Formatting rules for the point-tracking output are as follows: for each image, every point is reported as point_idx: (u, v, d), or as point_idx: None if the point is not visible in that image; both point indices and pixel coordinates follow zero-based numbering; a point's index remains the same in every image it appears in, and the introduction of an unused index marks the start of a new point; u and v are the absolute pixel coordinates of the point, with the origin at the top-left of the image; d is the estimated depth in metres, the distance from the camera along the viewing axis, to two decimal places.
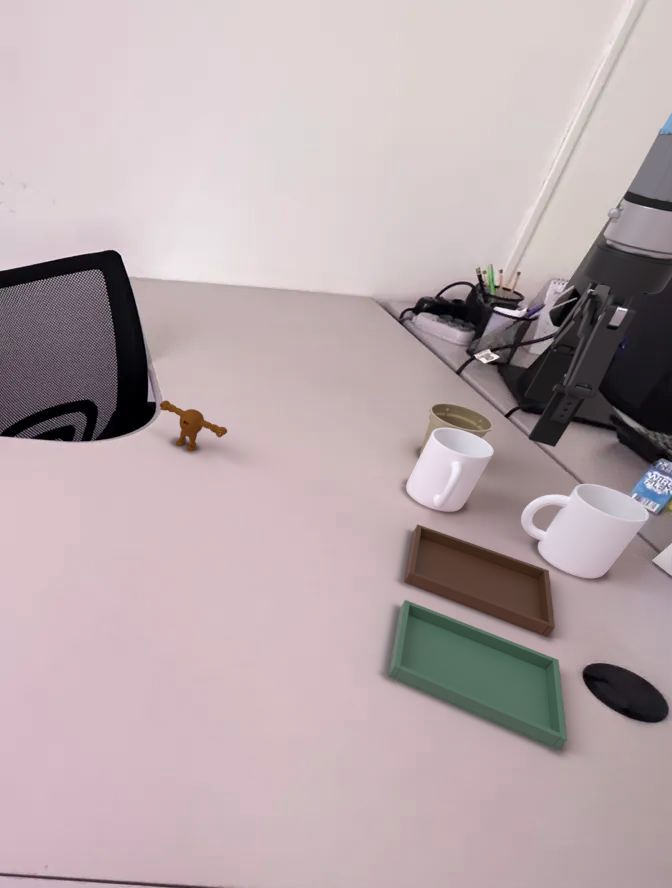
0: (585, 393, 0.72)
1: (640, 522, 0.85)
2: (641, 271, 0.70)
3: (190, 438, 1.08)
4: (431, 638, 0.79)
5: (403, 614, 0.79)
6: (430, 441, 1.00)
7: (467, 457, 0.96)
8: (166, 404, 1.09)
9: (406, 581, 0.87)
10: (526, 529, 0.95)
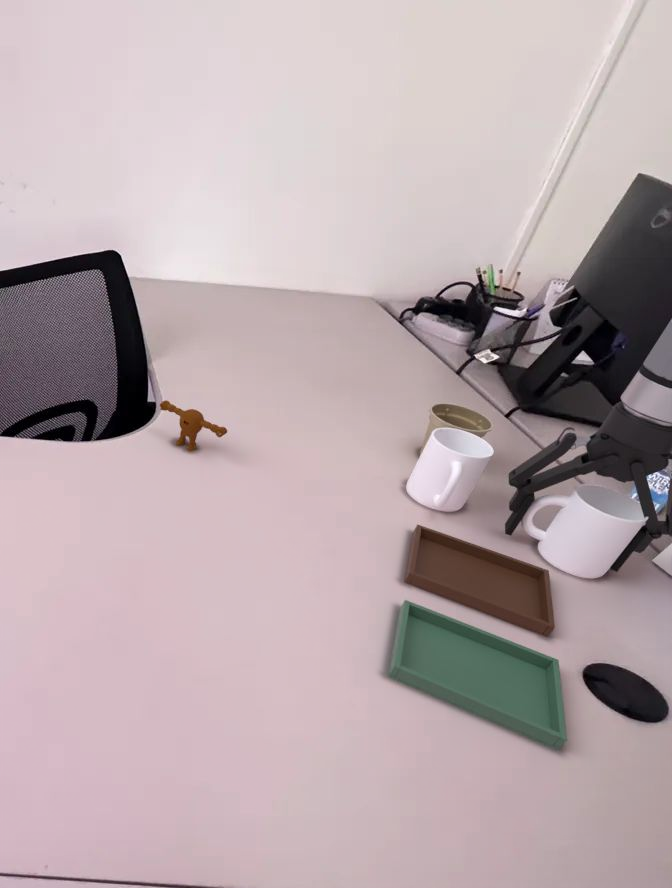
0: (509, 477, 0.93)
1: (640, 522, 0.85)
2: (611, 415, 0.84)
3: (190, 438, 1.08)
4: (431, 638, 0.79)
5: (403, 614, 0.79)
6: (430, 441, 1.00)
7: (467, 457, 0.96)
8: (166, 404, 1.09)
9: (406, 581, 0.87)
10: (526, 529, 0.95)
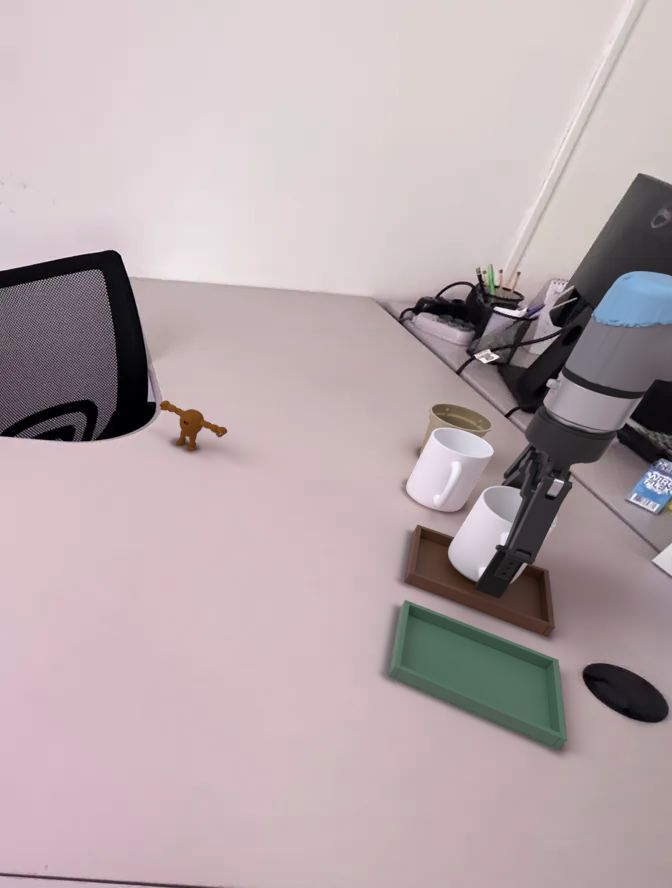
0: (524, 559, 0.74)
1: None
2: (578, 444, 0.72)
3: (190, 438, 1.08)
4: (431, 638, 0.79)
5: (403, 614, 0.79)
6: (430, 441, 1.00)
7: (467, 457, 0.96)
8: (166, 404, 1.09)
9: (406, 581, 0.87)
10: None
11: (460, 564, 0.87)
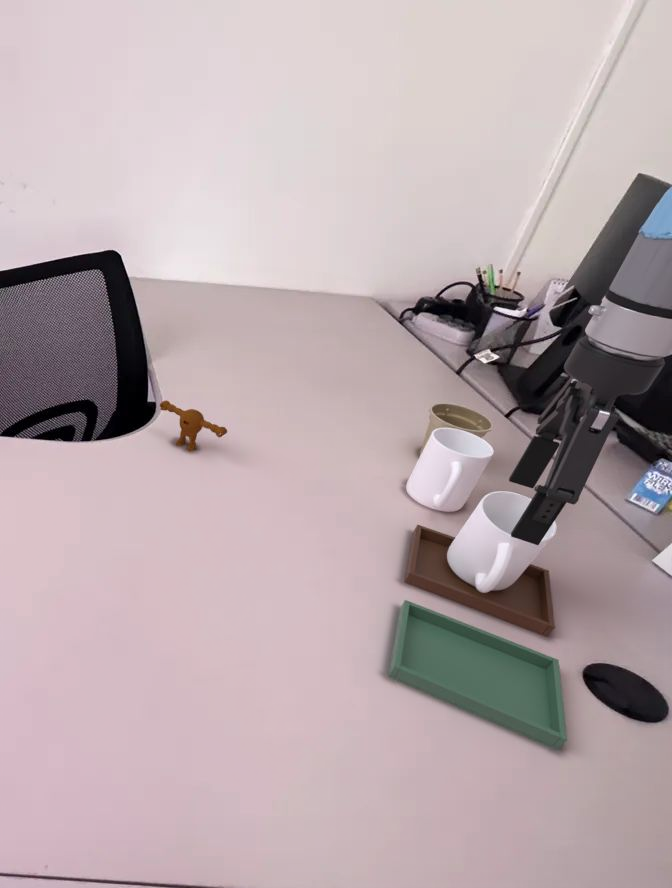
0: (567, 498, 0.69)
1: None
2: (624, 373, 0.67)
3: (190, 438, 1.08)
4: (431, 638, 0.79)
5: (403, 614, 0.79)
6: (430, 441, 1.00)
7: (467, 457, 0.96)
8: (166, 404, 1.09)
9: (406, 581, 0.87)
10: None
11: (458, 568, 0.87)
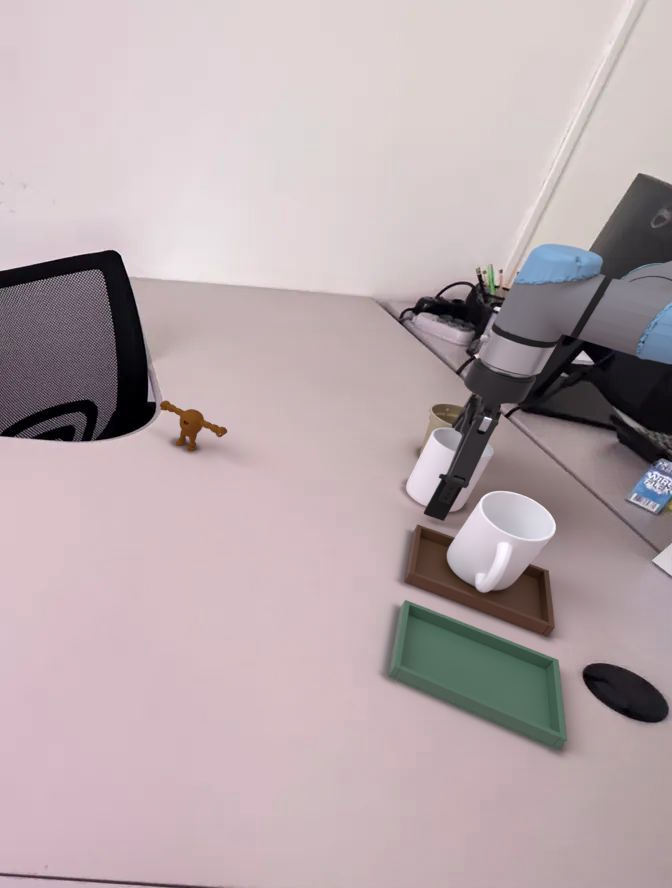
0: (460, 483, 0.91)
1: (544, 509, 0.83)
2: (504, 387, 0.88)
3: (190, 438, 1.08)
4: (431, 638, 0.79)
5: (403, 614, 0.79)
6: (430, 441, 1.00)
7: None
8: (166, 404, 1.09)
9: (406, 581, 0.87)
10: None
11: (458, 568, 0.87)
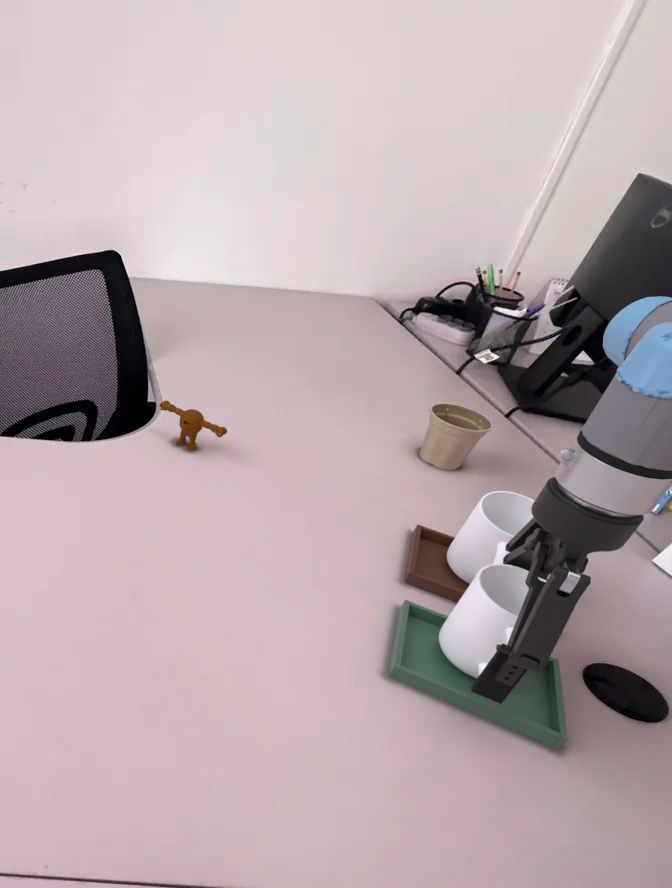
0: (532, 667, 0.61)
1: None
2: (597, 530, 0.59)
3: (190, 438, 1.08)
4: (431, 638, 0.79)
5: (403, 614, 0.79)
6: (475, 589, 0.70)
7: None
8: (166, 404, 1.09)
9: (406, 581, 0.87)
10: None
11: (458, 568, 0.87)
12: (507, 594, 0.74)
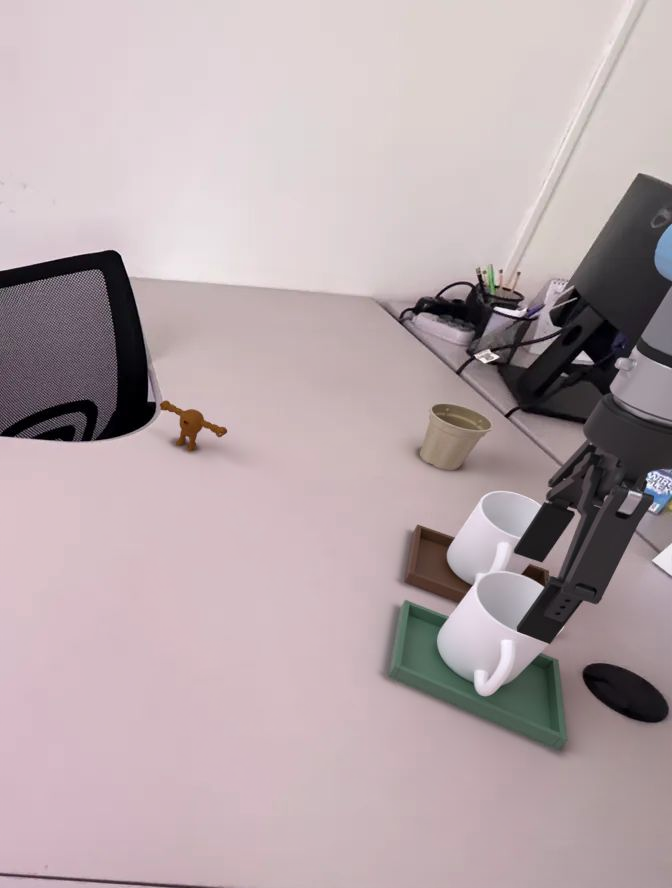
0: (587, 597, 0.56)
1: None
2: (660, 444, 0.54)
3: (190, 438, 1.08)
4: (431, 638, 0.79)
5: (403, 614, 0.79)
6: (471, 600, 0.70)
7: (524, 637, 0.66)
8: (166, 404, 1.09)
9: (406, 581, 0.87)
10: None
11: (458, 568, 0.87)
12: (506, 599, 0.74)
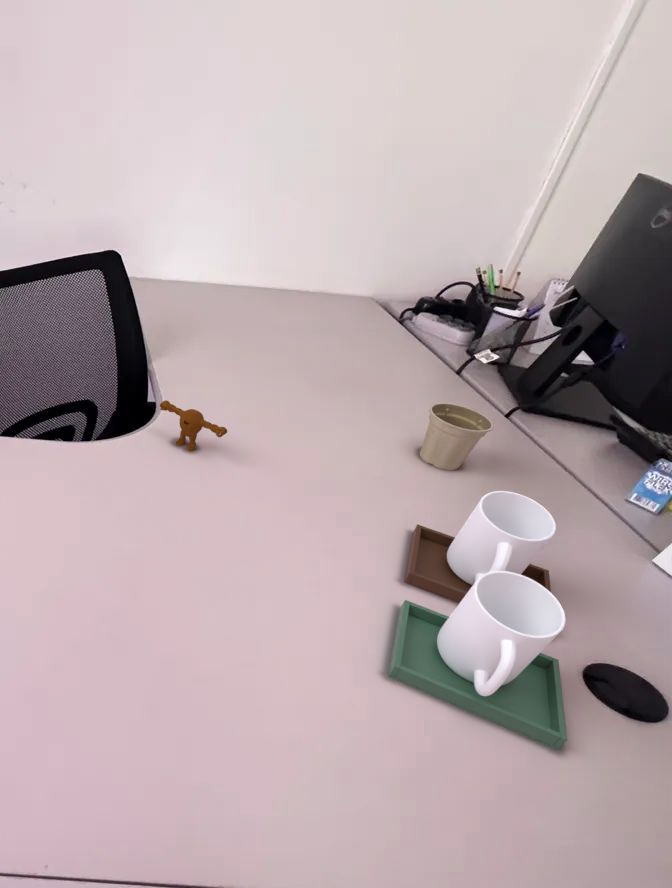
0: None
1: (544, 509, 0.83)
2: None
3: (190, 438, 1.08)
4: (431, 638, 0.79)
5: (403, 614, 0.79)
6: (471, 600, 0.70)
7: (524, 637, 0.66)
8: (166, 404, 1.09)
9: (406, 581, 0.87)
10: None
11: (458, 568, 0.87)
12: (506, 599, 0.74)
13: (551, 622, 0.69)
